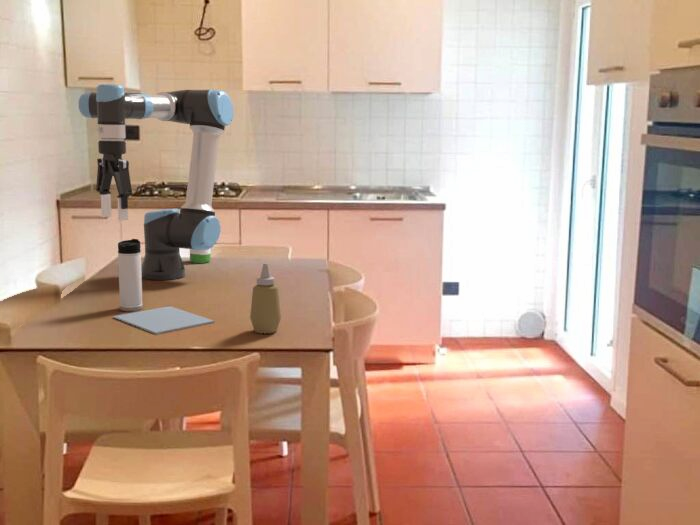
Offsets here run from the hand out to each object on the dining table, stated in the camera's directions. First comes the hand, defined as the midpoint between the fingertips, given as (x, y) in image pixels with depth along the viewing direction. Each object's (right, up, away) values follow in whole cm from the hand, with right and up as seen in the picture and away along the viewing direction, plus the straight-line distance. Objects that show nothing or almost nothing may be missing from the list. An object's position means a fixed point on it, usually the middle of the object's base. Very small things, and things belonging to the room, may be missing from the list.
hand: (114, 218), depth 230 cm
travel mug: (+5, -26, -1) cm, 27 cm away
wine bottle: (+11, -13, +73) cm, 75 cm away
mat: (+17, -29, -13) cm, 36 cm away
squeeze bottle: (+46, -31, -22) cm, 60 cm away
